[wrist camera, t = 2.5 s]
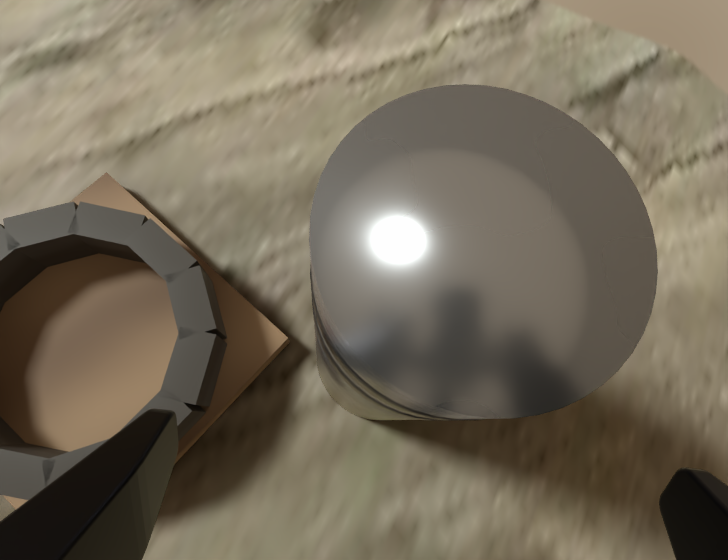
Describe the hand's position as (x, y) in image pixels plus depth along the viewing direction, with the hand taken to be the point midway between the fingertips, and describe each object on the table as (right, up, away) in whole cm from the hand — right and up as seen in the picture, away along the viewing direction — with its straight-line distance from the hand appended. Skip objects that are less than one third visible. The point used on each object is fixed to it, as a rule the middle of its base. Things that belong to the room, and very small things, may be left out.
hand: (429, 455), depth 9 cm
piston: (-1, 0, +11) cm, 11 cm away
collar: (-11, 0, +10) cm, 15 cm away
